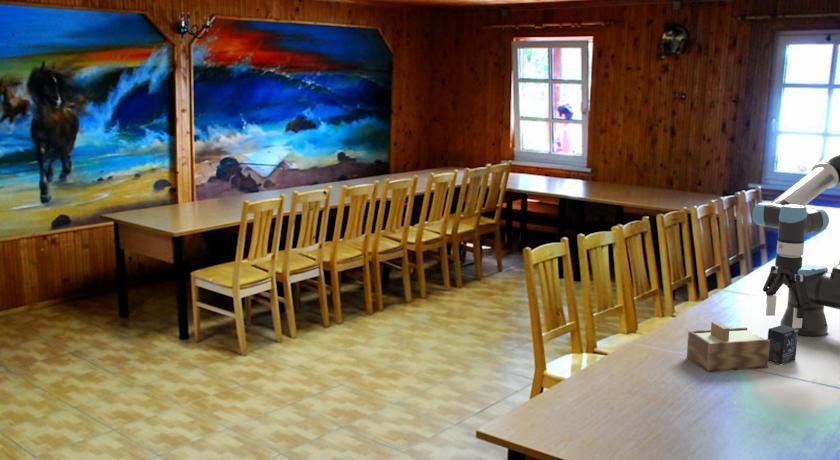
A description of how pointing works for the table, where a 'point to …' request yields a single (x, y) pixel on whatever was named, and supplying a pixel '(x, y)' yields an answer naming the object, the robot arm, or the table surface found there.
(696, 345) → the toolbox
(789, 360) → the box
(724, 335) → the lid
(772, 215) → the robot arm
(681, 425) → the table surface
